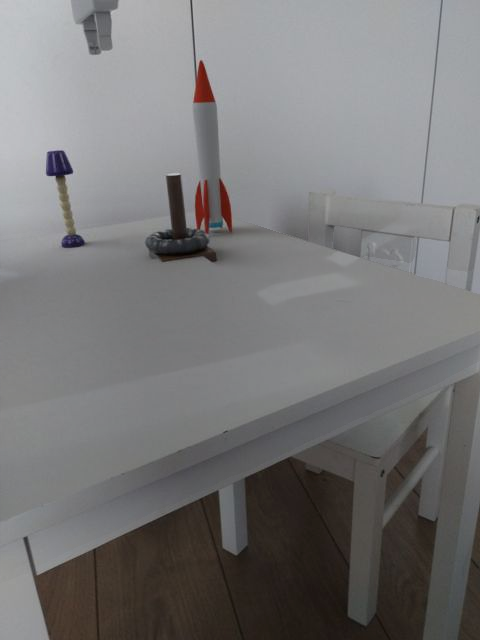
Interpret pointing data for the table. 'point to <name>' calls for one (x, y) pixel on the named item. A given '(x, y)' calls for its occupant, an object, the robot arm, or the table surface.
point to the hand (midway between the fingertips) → (100, 52)
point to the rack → (179, 221)
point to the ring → (177, 242)
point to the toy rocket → (208, 158)
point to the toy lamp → (63, 194)
